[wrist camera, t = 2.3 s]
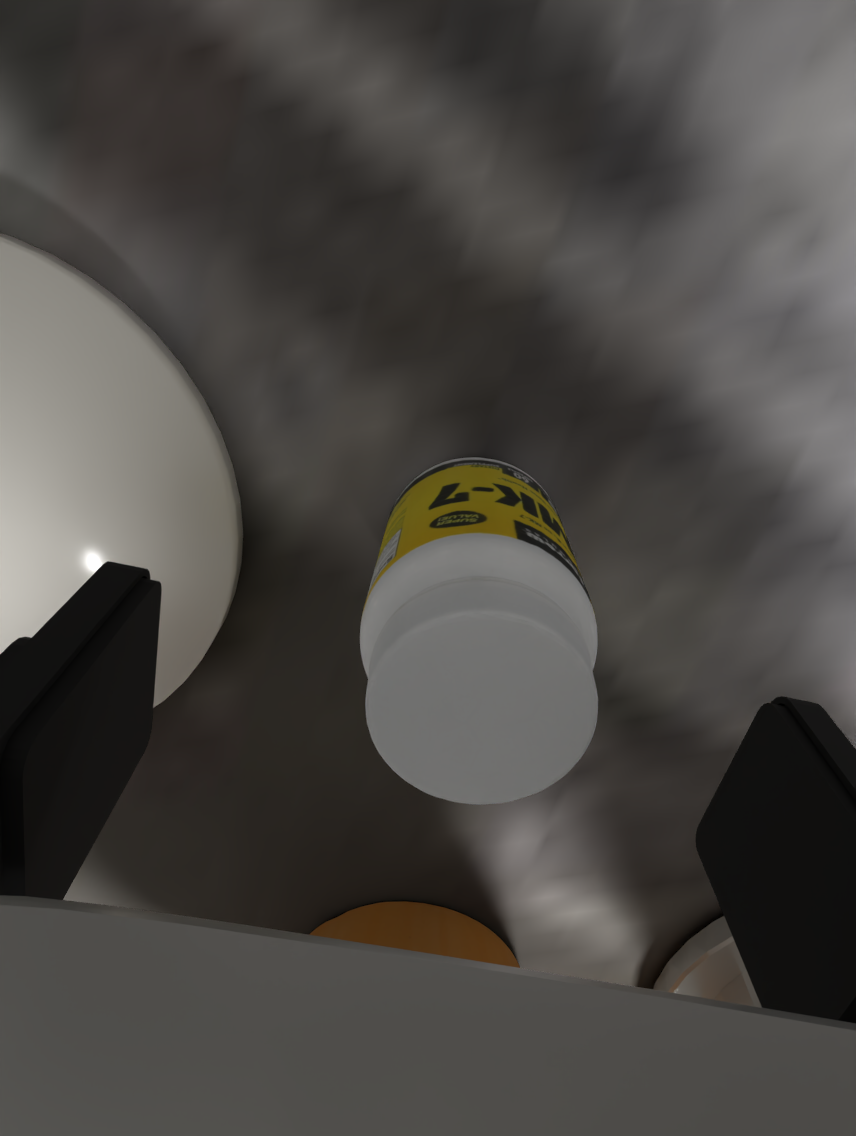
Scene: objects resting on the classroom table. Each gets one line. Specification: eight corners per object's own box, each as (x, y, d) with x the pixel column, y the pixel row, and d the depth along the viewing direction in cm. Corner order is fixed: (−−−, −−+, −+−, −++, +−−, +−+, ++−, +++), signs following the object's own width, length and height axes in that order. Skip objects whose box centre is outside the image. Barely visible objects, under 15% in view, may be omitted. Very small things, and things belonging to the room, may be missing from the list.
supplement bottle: (588, 487, 19) (678, 647, 12) (520, 633, 21) (558, 855, 13) (417, 426, 19) (391, 551, 11) (363, 582, 21) (309, 782, 13)
